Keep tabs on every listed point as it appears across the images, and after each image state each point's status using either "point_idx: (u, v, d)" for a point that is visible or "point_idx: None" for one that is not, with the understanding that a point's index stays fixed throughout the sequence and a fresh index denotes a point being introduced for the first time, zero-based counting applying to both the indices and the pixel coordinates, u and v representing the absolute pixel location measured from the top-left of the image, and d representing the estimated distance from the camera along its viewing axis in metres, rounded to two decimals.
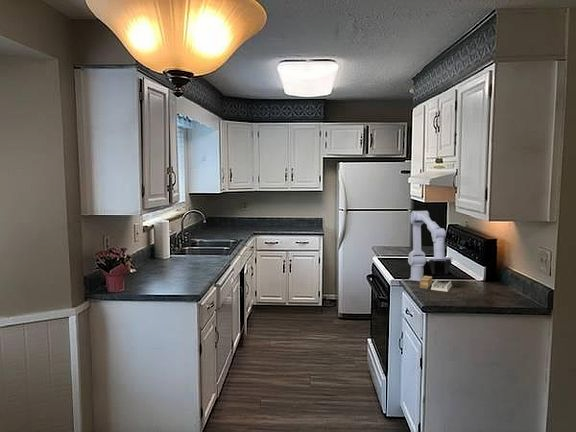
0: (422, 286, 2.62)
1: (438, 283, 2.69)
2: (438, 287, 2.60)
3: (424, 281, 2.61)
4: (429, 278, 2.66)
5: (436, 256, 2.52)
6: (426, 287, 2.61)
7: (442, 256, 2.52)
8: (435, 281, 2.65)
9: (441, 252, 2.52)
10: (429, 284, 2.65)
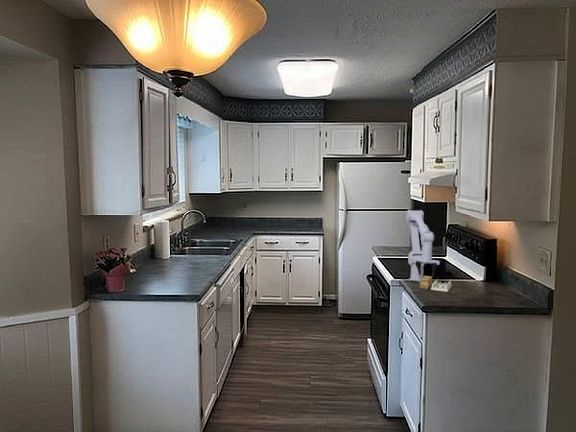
0: (422, 286, 2.62)
1: (438, 283, 2.69)
2: (438, 287, 2.60)
3: (424, 281, 2.61)
4: (429, 278, 2.66)
5: (422, 258, 2.65)
6: (426, 287, 2.61)
7: (426, 259, 2.63)
8: (435, 281, 2.65)
9: (426, 255, 2.63)
10: (429, 284, 2.65)
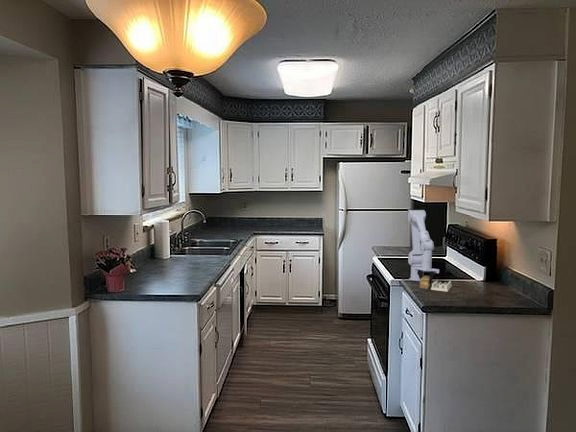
0: (422, 286, 2.62)
1: (438, 283, 2.69)
2: (438, 287, 2.60)
3: (424, 281, 2.61)
4: (429, 278, 2.66)
5: (421, 267, 2.66)
6: (426, 287, 2.61)
7: (426, 268, 2.63)
8: (435, 281, 2.65)
9: (425, 264, 2.63)
10: (429, 284, 2.65)
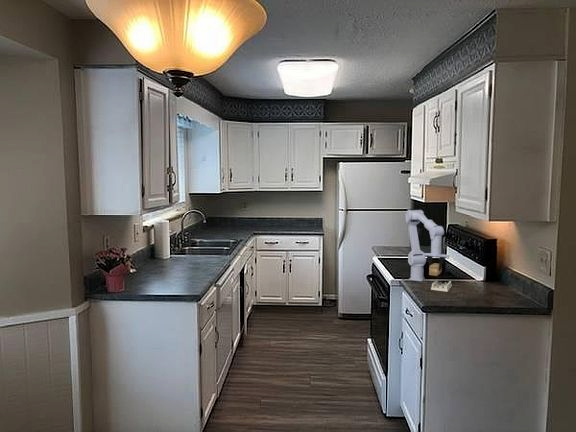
0: (431, 273, 2.59)
1: (438, 283, 2.69)
2: (438, 287, 2.60)
3: (433, 267, 2.58)
4: (438, 265, 2.62)
5: (431, 253, 2.62)
6: (435, 274, 2.57)
7: (436, 253, 2.60)
8: (435, 281, 2.65)
9: (435, 249, 2.60)
10: (438, 271, 2.61)
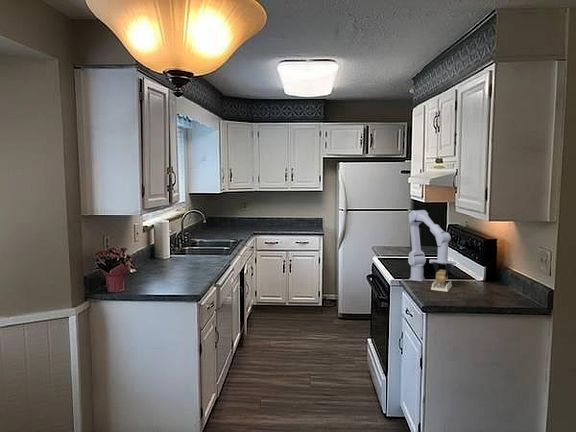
0: (438, 280, 2.57)
1: (438, 283, 2.69)
2: (438, 287, 2.60)
3: (440, 274, 2.56)
4: (445, 272, 2.61)
5: (437, 259, 2.61)
6: (442, 281, 2.56)
7: (442, 260, 2.58)
8: (435, 281, 2.65)
9: (441, 256, 2.58)
10: (445, 278, 2.60)
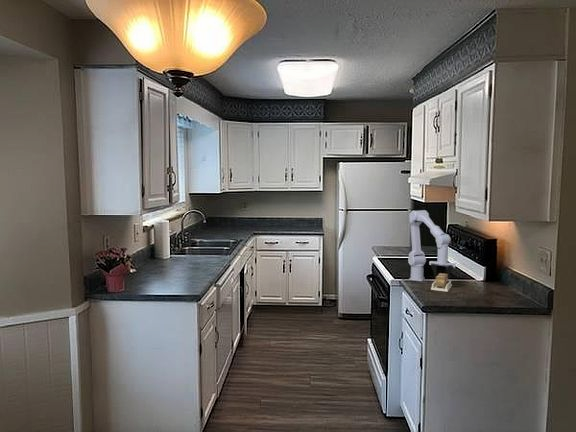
0: (438, 283, 2.57)
1: None
2: (438, 287, 2.60)
3: (440, 278, 2.56)
4: (445, 275, 2.61)
5: (437, 261, 2.61)
6: (442, 284, 2.56)
7: (442, 262, 2.58)
8: (435, 281, 2.65)
9: (441, 258, 2.58)
10: (445, 281, 2.60)
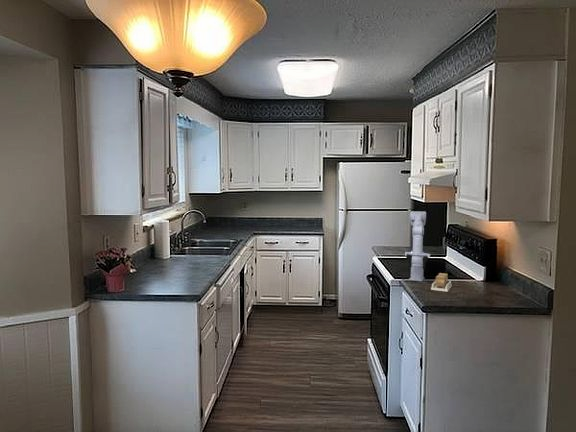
0: (438, 283, 2.57)
1: None
2: (438, 287, 2.60)
3: (440, 278, 2.56)
4: (445, 275, 2.61)
5: (412, 251, 2.67)
6: (442, 284, 2.56)
7: (417, 252, 2.64)
8: (435, 281, 2.65)
9: (416, 248, 2.64)
10: (445, 281, 2.60)
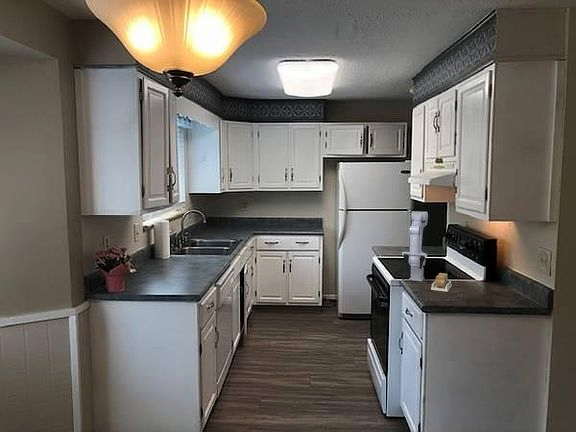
0: (438, 283, 2.57)
1: None
2: (438, 287, 2.60)
3: (440, 278, 2.56)
4: (445, 275, 2.61)
5: (410, 251, 2.67)
6: (442, 284, 2.56)
7: (414, 252, 2.65)
8: (435, 281, 2.65)
9: (413, 248, 2.65)
10: (445, 281, 2.60)
